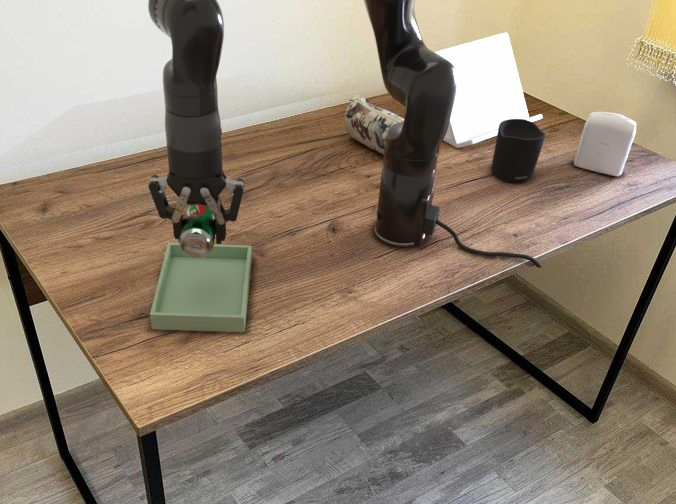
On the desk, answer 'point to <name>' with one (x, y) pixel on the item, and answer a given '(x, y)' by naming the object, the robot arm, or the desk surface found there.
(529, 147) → the pen holder
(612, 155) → the photo printer
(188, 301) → the tray
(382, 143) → the pencil case
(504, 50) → the tablet stand
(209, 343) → the desk surface
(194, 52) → the robot arm
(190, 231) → the soda can
